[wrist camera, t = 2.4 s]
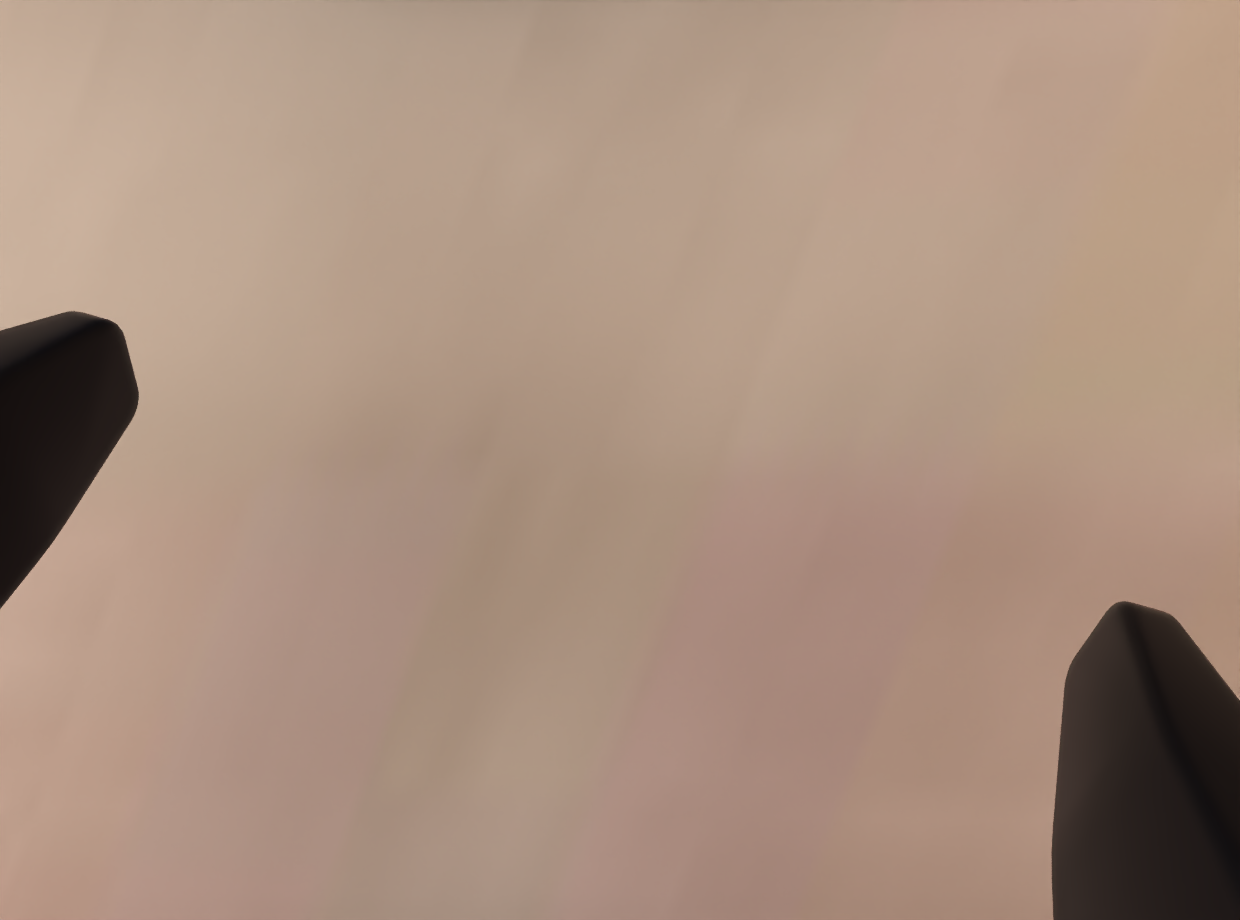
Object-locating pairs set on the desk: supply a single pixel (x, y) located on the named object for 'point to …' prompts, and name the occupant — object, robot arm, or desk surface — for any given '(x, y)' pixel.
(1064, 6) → the desk surface
